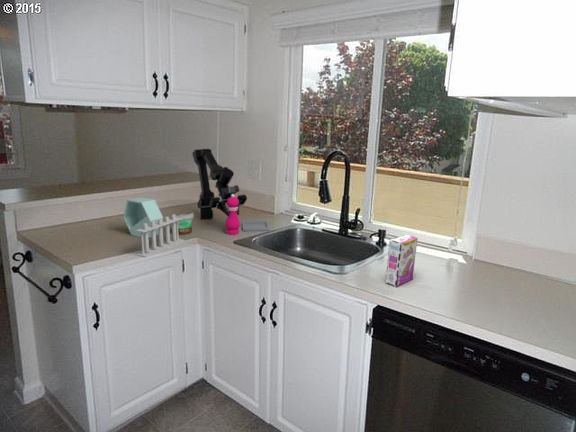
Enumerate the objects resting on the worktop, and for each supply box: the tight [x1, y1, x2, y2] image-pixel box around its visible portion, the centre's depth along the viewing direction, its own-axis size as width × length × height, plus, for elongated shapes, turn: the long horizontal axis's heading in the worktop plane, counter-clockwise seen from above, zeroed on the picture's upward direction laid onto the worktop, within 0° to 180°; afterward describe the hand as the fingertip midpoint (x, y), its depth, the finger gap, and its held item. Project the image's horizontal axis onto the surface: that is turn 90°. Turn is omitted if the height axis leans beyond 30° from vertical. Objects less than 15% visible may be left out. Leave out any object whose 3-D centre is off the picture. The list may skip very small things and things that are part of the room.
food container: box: [169, 210, 195, 236], centre depth 193 cm, size 12×6×10 cm, turn 131°
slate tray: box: [242, 220, 270, 232], centre depth 208 cm, size 13×13×2 cm
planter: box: [123, 196, 164, 239], centre depth 188 cm, size 17×8×21 cm
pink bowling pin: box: [225, 194, 241, 236], centre depth 194 cm, size 7×7×20 cm
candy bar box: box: [385, 234, 419, 288], centre depth 141 cm, size 11×5×16 cm, turn 133°
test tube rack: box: [135, 213, 184, 258], centre depth 171 cm, size 25×4×13 cm, turn 157°
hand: (233, 215), depth 193 cm, fingers closed on pink bowling pin, 5 cm apart
